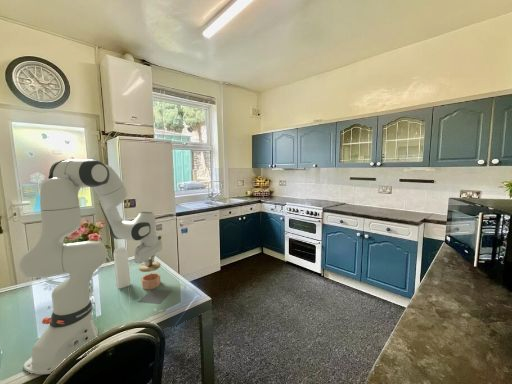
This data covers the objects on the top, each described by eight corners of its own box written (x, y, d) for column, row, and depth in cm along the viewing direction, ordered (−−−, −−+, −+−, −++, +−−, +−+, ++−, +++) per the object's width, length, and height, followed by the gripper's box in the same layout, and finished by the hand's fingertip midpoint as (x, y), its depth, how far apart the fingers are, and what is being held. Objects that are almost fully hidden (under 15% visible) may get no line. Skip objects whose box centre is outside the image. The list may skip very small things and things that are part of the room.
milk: (130, 285, 134) (127, 248, 131) (118, 289, 129) (115, 250, 127) (127, 281, 138) (124, 245, 135) (115, 285, 134) (112, 247, 131)
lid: (153, 272, 126) (152, 264, 125) (134, 271, 127) (134, 263, 127) (164, 263, 136) (163, 256, 136) (146, 262, 138) (146, 255, 137)
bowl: (154, 290, 128) (153, 281, 127) (138, 289, 129) (138, 280, 129) (163, 281, 137) (162, 273, 136) (148, 280, 138) (148, 272, 138)
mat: (160, 304, 115) (159, 303, 115) (137, 302, 117) (137, 301, 117) (172, 291, 127) (172, 290, 127) (152, 289, 129) (151, 288, 129)
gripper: (141, 247, 119) (143, 273, 121) (163, 234, 139) (164, 257, 141) (130, 246, 120) (132, 272, 122) (153, 234, 140) (155, 256, 142)
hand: (149, 264), depth 132 cm, fingers closed on lid, 3 cm apart
